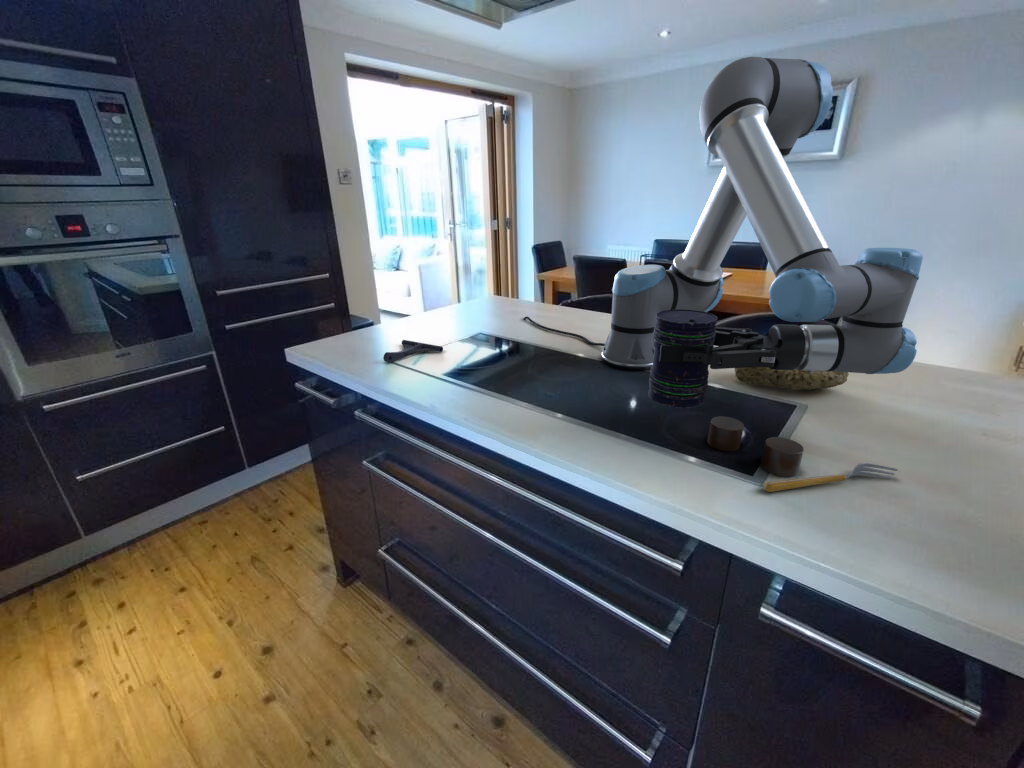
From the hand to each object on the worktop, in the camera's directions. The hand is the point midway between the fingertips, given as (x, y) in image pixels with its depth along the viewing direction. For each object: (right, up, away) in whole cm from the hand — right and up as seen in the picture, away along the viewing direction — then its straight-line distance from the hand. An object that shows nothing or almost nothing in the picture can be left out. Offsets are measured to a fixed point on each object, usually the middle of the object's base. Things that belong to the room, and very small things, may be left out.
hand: (656, 343), depth 77 cm
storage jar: (+5, -10, +3) cm, 11 cm away
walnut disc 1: (+11, -17, -2) cm, 20 cm away
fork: (+20, -22, -13) cm, 33 cm away
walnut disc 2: (+16, -20, -9) cm, 27 cm away
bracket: (-55, +1, +45) cm, 71 cm away
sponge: (+35, -8, +20) cm, 41 cm away
